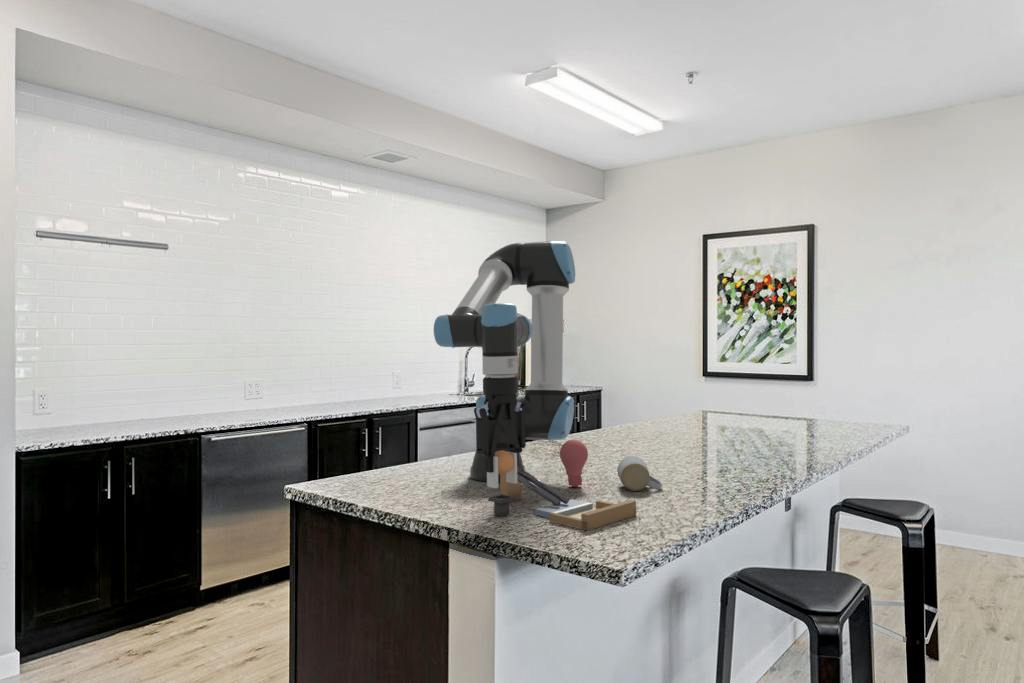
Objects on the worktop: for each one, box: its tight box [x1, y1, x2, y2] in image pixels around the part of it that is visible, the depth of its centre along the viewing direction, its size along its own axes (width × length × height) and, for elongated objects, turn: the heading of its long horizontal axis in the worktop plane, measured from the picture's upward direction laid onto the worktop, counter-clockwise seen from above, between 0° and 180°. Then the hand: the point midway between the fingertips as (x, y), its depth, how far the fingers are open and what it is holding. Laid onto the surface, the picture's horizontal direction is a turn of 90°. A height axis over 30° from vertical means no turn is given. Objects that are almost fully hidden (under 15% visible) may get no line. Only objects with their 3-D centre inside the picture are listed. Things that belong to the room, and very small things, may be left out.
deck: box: [534, 499, 594, 519], centre depth 146 cm, size 6×12×1 cm, turn 134°
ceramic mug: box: [617, 455, 663, 492], centre depth 168 cm, size 11×8×8 cm
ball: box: [495, 451, 514, 474], centre depth 144 cm, size 5×5×5 cm
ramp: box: [499, 467, 570, 506], centre depth 152 cm, size 18×4×8 cm, turn 44°
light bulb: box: [559, 439, 589, 488], centre depth 171 cm, size 7×7×12 cm
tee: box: [487, 494, 515, 517], centre depth 144 cm, size 4×4×4 cm
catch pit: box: [549, 499, 637, 532], centre depth 140 cm, size 10×16×3 cm, turn 135°
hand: (502, 484), depth 144 cm, fingers closed on ball, 5 cm apart
